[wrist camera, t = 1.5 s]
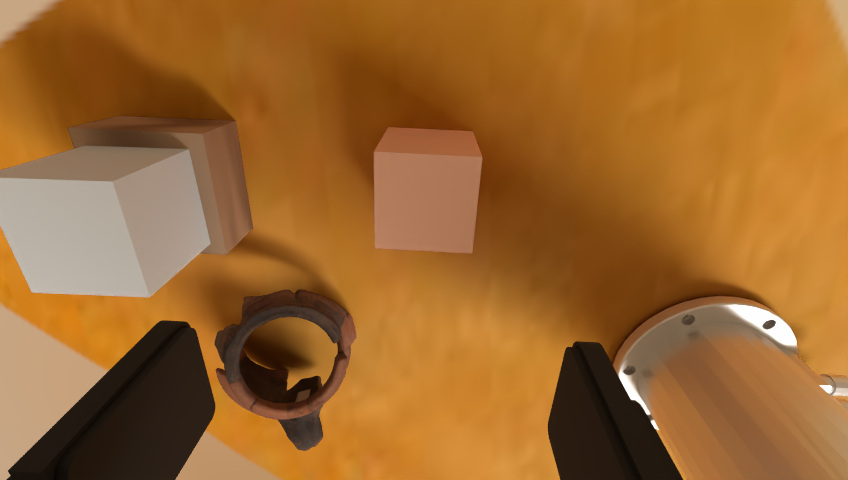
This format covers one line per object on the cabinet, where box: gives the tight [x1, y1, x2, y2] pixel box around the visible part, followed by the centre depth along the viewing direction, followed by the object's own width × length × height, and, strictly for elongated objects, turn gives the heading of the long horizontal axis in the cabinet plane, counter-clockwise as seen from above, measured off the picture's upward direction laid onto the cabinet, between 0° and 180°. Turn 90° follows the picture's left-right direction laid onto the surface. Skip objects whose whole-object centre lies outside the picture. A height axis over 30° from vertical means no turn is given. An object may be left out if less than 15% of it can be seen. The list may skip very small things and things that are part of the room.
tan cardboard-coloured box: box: [68, 116, 253, 255], centre depth 24 cm, size 7×7×4 cm
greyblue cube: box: [0, 146, 211, 297], centre depth 20 cm, size 6×6×6 cm
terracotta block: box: [374, 127, 483, 253], centre depth 22 cm, size 5×5×6 cm
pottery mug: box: [215, 290, 356, 451], centre depth 29 cm, size 12×10×8 cm
